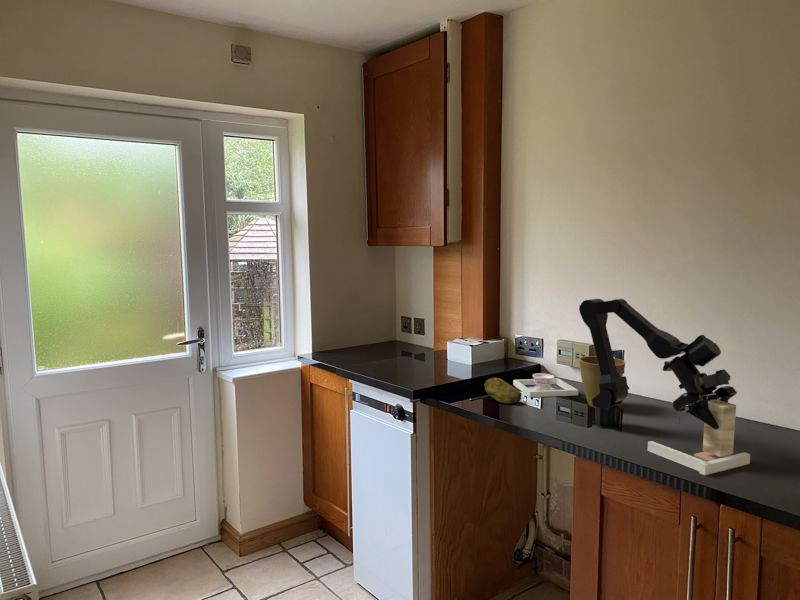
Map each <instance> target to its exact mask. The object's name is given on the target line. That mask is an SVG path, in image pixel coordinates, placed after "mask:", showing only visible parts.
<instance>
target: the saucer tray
mask: <svg viewBox="0 0 800 600" xmlns="http://www.w3.org/2000/svg"><path fill="white" fill-rule="evenodd" d="M512 383H513V384H512V385H513V387H515V388H516V389H517V390H519V391H520V392H522V393H524V394H525V395H527V396H528V397H529V398H543V397H544V398H546V397H567V396H568V397H570V396H579V389H578V388H575V387H574V386H572V385H570V384H569V383H567V382H566V381H564V380H563V379H560V378H558V377H557V378H556V377H554V379H553V380H552V382H551V385H558V386H559V387H561V388H562V389H557V390H544V391H538V390H537V391H531V390H530V389H529V387H527V386H536V384H535V382H534V378H531V379H529V378H528V379H513V381H512Z"/></svg>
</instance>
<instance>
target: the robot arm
mask: <svg viewBox="0 0 800 600" xmlns="http://www.w3.org/2000/svg"><path fill="white" fill-rule="evenodd" d="M578 311H579V314H580V316H581V318H582V321H583V324H584V325H586V326H587V327H588V329H589V332H590V335H591V339H592V340H591V341H592V343H593V348H594V352H595V356H596V357H597V361H598V365H599V369H600V373H601V377H600V382H599V394H598V395H597V396H595V397H594V398H593V399H592V403H593V406H594V407H595V408H594V407H593V408H594V419H592V420H591V421H592V424H594V425H596V426H597V427H599V428H601V429H614V428H616V429H617V428H622V425H621V424H620V423H621V410H620V405H623V402H624V400H625V399H626V398H627V397H628V396H629V390H630V387H629V385H628V382H627V381H628V380H627V377H626V376H625V375H623V376H622V377H621V376H620V375H619V373H618V372H617V369H616V365H615V361H614V358H615V357H614V354H613V349H612V346H611V345H612V344H611V342H610V338H609V334H608V330H607V329H608V328H607V322H608V318H609V315H608V314H611V313H614V314H615V315H616V316H617V317H618V318H620V319H621V320H622V321H623V322H624V323H625V324H627V325H628V326H629V327H630V328H631V329H632V330H634V331H635V333H637V334H638V335H639V336H640V337H642V339H644V341H645V342H646V343H645V344H647V347H648V348H649V349H650V351H651V352H652V353H653V355H654V356H656V357H657V359H658V358H659V359H661V360H663V359H664V360H665V359H670V358H673V357H674V358H673V359H671V360H670V361H669V360H667V361H666V360H665V361H664V363H663V364H664V365H663V366H662V371H663V372H672V373H673V375H675V377H676V378H677V380H678V382H679V383H680V384H678V388H679V389H680V390H682V389H684V391H685V392H684V393H682V394H680V395H679V397H677V398H676V399H675V400H673V401H672V408H673V409H674V410H675V412H676V413H681V412H684V411H685V410H686V407H687V408H688V409H687V410H686V411H685V413H686V414H688V415H691V416H693V417H695V418H696V419H698V420H700V421H701V422H703V423H704V422H705V423H706V424H708V425H709V426H711V427H712V428H714V429H718V428H719V426H718V424H717V422H716V420H715V419H714V417H713V415H712V413H711V412H710V410H709V408H708V402H710V401H716V400H720V401H724V402H727V403H729V401H730V399H733V397H734V396H736V395H737V394H738V391H737V390H736V389H735V387H733V386H731V385H730V383H729V381H731V375H730V374H729V373H728V372H727V370H726V369H724V368H723V369H720V370H715V373H711V374H709V375H708V374H707V373H706V372H700V370H699V368H698V366H699V367H705V366H706V365H707V364H709V363H710V362H711V361H713V360H715V359H716V358H717V357H719V356H720V355H721V354H722V351H721V349H720V346H719V345H718V344H717V343H716V342H714V341H713V340H711V339H709V338H707V337H706V336H705V335H704V334H701V335H698V336H697V337H696V338H695V339H694V340H693V341H692V342H690V343H686V342H682V341H680V339H679V338H678V337H676V336H674V335H673V334H671V333H670V332H667V331H664V330H663V329H660V328H658V327H656V326H655V325H654V324H653V323H652V322H650V321H649V320H648V319H647V318H645V316H643V315H642V314H641V313H640V312H638V310H636V309H635V308H634V307H632V306H631V304H629V303H628V302H627V301H626V299H624V298H617V299H612V300H606V301H605V300H603V299H601V298H592V299H585V300H583V301H582V302H581V304H580V305H579V308H578ZM681 354H683V355H681ZM678 355H681V356H678ZM723 385H725V386H723ZM718 386H720V387H718Z"/></svg>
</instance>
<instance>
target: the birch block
mask: <svg viewBox="0 0 800 600" xmlns="http://www.w3.org/2000/svg"><path fill="white" fill-rule="evenodd" d="M708 408H709V410H710V412H711V413H712V415H713V417H714V419H715V420H716V422H717V424H718V426H719V428H718V429H714V428H712V427H711V426H709V425H708V424H706V423H705V422H703V424H704V425H703V436H702V437H703V441H702V452H705V451H706V452H708V453H711V454H714V455H717V456H719V457H721V456H725V455H734V454H733V453H734V443H735V427H736V416H737V415H736V412H737V404H733V403H730V402H728V403H727V402H724V401H720V400H716V401H710V402H708Z"/></svg>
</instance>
